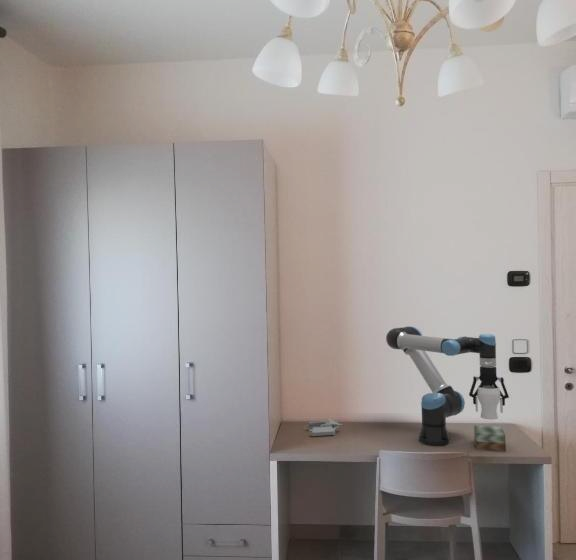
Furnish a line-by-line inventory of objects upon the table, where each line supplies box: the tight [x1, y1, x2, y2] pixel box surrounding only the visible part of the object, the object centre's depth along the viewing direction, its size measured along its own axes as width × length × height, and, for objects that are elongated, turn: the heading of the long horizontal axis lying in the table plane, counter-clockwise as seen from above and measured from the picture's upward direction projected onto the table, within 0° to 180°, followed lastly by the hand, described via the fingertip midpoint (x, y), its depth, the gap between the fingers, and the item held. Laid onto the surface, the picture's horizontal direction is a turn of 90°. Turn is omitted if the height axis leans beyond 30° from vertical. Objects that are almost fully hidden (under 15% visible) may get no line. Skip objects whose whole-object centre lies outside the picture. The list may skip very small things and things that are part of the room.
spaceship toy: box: [303, 418, 343, 437], centre depth 274 cm, size 14×20×6 cm
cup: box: [476, 385, 501, 420], centre depth 246 cm, size 11×11×15 cm
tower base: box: [473, 424, 507, 453], centre depth 246 cm, size 13×13×8 cm
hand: (489, 411), depth 246 cm, fingers closed on cup, 11 cm apart
